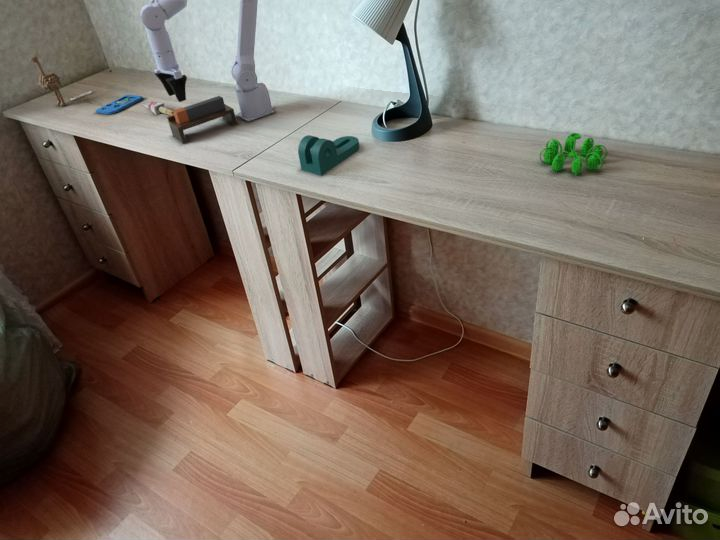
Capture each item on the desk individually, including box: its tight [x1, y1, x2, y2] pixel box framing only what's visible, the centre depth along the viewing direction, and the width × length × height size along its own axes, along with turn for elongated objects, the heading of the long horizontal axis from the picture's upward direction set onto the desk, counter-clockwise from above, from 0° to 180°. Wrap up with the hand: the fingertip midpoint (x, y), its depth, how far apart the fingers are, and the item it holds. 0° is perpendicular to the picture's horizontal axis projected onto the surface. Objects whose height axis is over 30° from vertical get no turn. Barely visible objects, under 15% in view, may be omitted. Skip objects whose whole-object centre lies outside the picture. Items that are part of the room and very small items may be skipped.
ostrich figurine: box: [29, 55, 93, 108], centre depth 201 cm, size 17×7×18 cm, turn 144°
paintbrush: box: [141, 101, 174, 116], centre depth 186 cm, size 4×3×20 cm
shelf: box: [166, 103, 238, 144], centre depth 169 cm, size 18×8×6 cm, turn 127°
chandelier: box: [539, 132, 609, 176], centre depth 129 cm, size 15×15×7 cm
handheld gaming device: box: [95, 94, 144, 115], centre depth 196 cm, size 8×1×15 cm
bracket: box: [297, 134, 360, 177], centre depth 144 cm, size 18×7×8 cm, turn 143°
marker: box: [172, 95, 226, 124], centre depth 166 cm, size 15×3×4 cm, turn 127°
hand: (177, 97), depth 165 cm, fingers open, 7 cm apart
